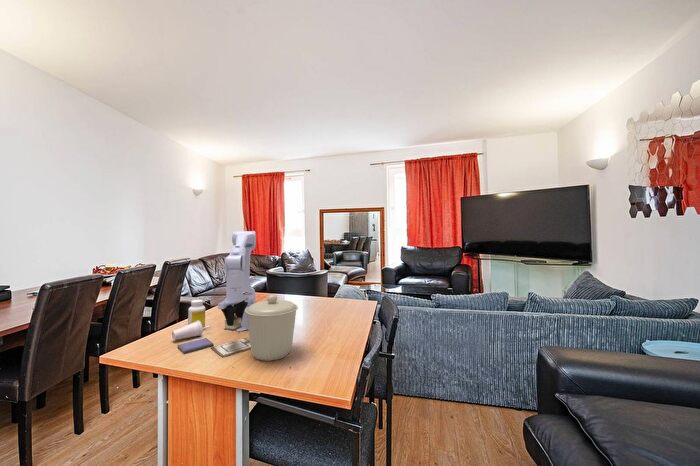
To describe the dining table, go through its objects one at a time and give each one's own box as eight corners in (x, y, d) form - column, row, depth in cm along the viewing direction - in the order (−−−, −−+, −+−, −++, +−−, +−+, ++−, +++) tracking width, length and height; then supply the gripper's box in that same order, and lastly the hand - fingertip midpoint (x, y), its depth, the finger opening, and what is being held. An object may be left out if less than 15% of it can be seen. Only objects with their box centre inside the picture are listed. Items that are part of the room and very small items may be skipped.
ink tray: (206, 340, 109) (206, 337, 109) (213, 346, 104) (213, 343, 104) (177, 347, 102) (177, 344, 102) (183, 354, 97) (183, 351, 97)
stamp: (232, 326, 105) (232, 314, 105) (241, 327, 104) (241, 315, 104) (224, 329, 101) (224, 317, 101) (233, 331, 100) (233, 318, 100)
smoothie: (177, 343, 105) (214, 331, 115) (174, 326, 106) (212, 316, 116) (172, 344, 109) (208, 332, 120) (169, 327, 110) (206, 317, 120)
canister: (232, 362, 90) (233, 298, 91) (263, 342, 108) (264, 288, 108) (281, 369, 86) (282, 302, 86) (306, 347, 103) (306, 291, 103)
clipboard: (246, 338, 111) (246, 336, 111) (259, 346, 104) (259, 344, 104) (210, 348, 102) (210, 346, 102) (222, 357, 94) (222, 355, 94)
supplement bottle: (208, 328, 123) (209, 300, 123) (194, 333, 117) (195, 303, 117) (198, 326, 126) (199, 298, 126) (184, 330, 120) (185, 301, 120)
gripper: (238, 283, 111) (238, 316, 111) (211, 290, 97) (210, 328, 97) (253, 284, 109) (253, 318, 108) (227, 291, 95) (227, 330, 95)
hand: (234, 323), depth 102 cm, fingers closed on stamp, 4 cm apart
